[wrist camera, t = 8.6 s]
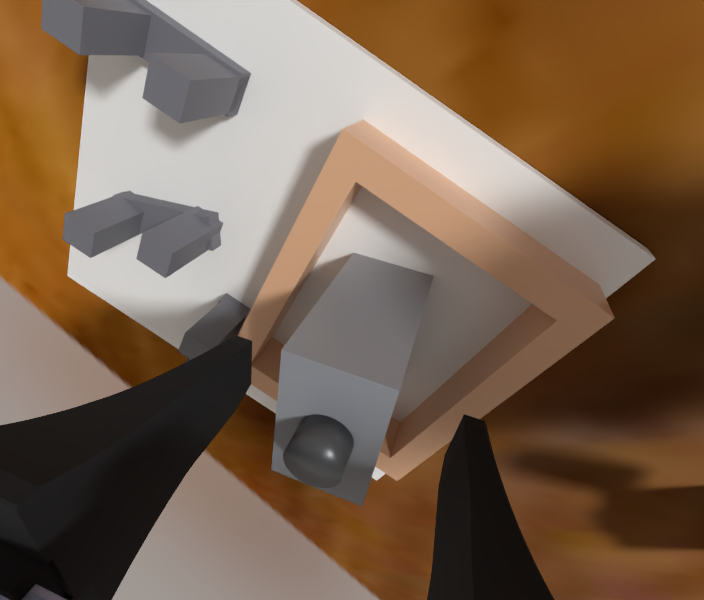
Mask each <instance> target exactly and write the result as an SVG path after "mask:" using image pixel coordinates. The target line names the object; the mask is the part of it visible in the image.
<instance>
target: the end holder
mask: <svg viewBox="0 0 704 600" xmlns="http://www.w3.org/2000/svg"><path fill="white" fill-rule="evenodd" d="M362 186H363V187H364V188H366V189H367V190H369V191H370V192H371V193H373V194H374V195H376V196H377V197H379V198H380V199H382V200H383V201H384V202H386V203H387V204H389V205H390V206H392V207H393V208H395V209H396V210H397V211H399V212H400V213H402V214H403V215H405V216H406V217H408V218H409V219H410V220H412V221H413V222H415V223H416V224H418V225H419V226H421V227H422V228H423V229H425V230H426V231H428V232H429V233H431V234H432V235H434V236H435V237H436V238H438V239H439V240H441V241H442V242H444V243H445V244H447V245H448V246H449V247H451V248H452V249H454V250H455V251H457V252H458V253H460V254H461V255H462V256H464V257H465V258H467V259H468V260H470V261H471V262H473V263H474V264H475V265H477V266H478V267H480V268H481V269H483V270H484V271H486V272H487V273H488V274H490V275H491V276H493V277H494V278H496V279H497V280H499V281H500V282H501V283H503V284H504V285H506V286H507V287H509V288H510V289H512V290H513V291H514V292H516V293H517V294H519V295H520V296H522V297H523V298H525V299H526V300H527V301H529V302H530V303H532V305H531V306H529V307H528V308H527V309H526V310H525V311H524V312H523V313H522V314H521V315H519V316H518V317H517V318H516V319H515V320H514V321H513V322H512V323H511V324H509V325H508V326H507V327H506V328H505V329H504V330H503V331H502V332H500V333H499V334H498V335H497V336H496V337H495V338H494V339H493V340H492V341H490V342H489V343H488V344H487V345H486V346H485V347H484V348H483V349H482V350H480V351H479V352H478V353H477V354H476V355H475V356H474V357H473V358H471V359H470V360H469V361H468V362H467V363H466V364H465V365H464V366H463V367H461V368H460V369H459V370H458V371H457V372H456V373H455V374H454V375H453V376H451V377H450V378H449V379H448V380H447V381H446V382H445V383H444V384H442V385H441V386H440V387H439V388H438V389H437V390H436V391H435V392H434V393H432V394H431V395H430V396H429V397H428V398H427V399H426V400H425V401H424V402H422V403H421V404H420V405H419V406H418V407H417V408H416V409H415V410H413V411H412V412H411V413H410V414H409V415H408V416H407V417H406V418H405V419H403V420H402V421H401V422H398V421H397V420H395V419H394V418H392V417H391V419H390V422H389V425H388V428H387V432H386V435H385V438H384V441H383V444H382V447H381V450H380V453H379V456H378V459H377V462H376V465H375V467H377V468H378V469H380V470H381V471H383V472H384V473H386V474H387V475H389V476H390V477H392V478H393V479H395V480H396V481H398V480H399V479H401V478H402V477H403V476H405V475H406V474H407V473H409V472H410V471H411V470H413V469H414V468H415V467H417V466H418V465H419V464H421V463H422V462H423V461H425V460H426V459H427V458H429V457H430V456H431V455H433V454H434V453H435V452H437V451H438V450H439V449H441V448H442V447H443V446H445V445H446V444H447V443H449V442H450V441H451V440H452V439H453V437H454V434H455V432H456V430H457V428H458V426H459V424H460V422H461V419H462V417H463V415H464V414H465V415H468V416H471V417H474V418H477V419H481V418H482V417H483V416H485V415H486V414H487V413H489V412H490V411H491V410H493V409H494V408H495V407H497V406H498V405H499V404H501V403H502V402H503V401H505V400H506V399H507V398H509V397H510V396H511V395H513V394H514V393H515V392H517V391H518V390H519V389H521V388H522V387H523V386H525V385H526V384H528V383H529V382H530V381H532V380H533V379H534V378H536V377H537V376H538V375H540V374H541V373H542V372H544V371H545V370H546V369H548V368H549V367H550V366H552V365H553V364H554V363H556V362H557V361H558V360H560V359H561V358H562V357H564V356H565V355H566V354H568V353H569V352H570V351H572V350H573V349H574V348H576V347H577V346H578V345H580V344H581V343H582V342H584V341H585V340H586V339H588V338H589V337H590V336H592V335H593V334H594V333H596V332H597V331H598V330H600V329H601V328H602V327H604V326H605V325H606V324H608V323H609V322H610V321H612V320H613V319H614V315H613V313H612V311H611V309H610V307H609V304H608V302H607V300H606V298H605V295H604V293H603V291H602V289H601V287H600V285H599V284H598V283H597V282H595V281H594V280H592V279H591V278H589V277H588V276H587V275H585V274H584V273H582V272H581V271H579V270H578V269H577V268H575V267H574V266H572V265H571V264H569V263H568V262H567V261H565V260H564V259H562V258H561V257H559V256H558V255H557V254H555V253H554V252H552V251H551V250H549V249H548V248H547V247H545V246H544V245H542V244H541V243H539V242H538V241H537V240H535V239H534V238H532V237H531V236H529V235H528V234H527V233H525V232H524V231H522V230H521V229H519V228H518V227H517V226H515V225H514V224H512V223H511V222H509V221H508V220H507V219H505V218H504V217H502V216H501V215H499V214H498V213H497V212H495V211H494V210H492V209H491V208H489V207H488V206H487V205H485V204H484V203H482V202H481V201H479V200H478V199H477V198H475V197H474V196H472V195H471V194H469V193H468V192H467V191H465V190H464V189H462V188H461V187H459V186H458V185H456V184H455V183H454V182H452V181H451V180H449V179H448V178H446V177H445V176H444V175H442V174H441V173H439V172H438V171H436V170H435V169H434V168H432V167H431V166H429V165H428V164H426V163H425V162H424V161H422V160H421V159H419V158H418V157H416V156H415V155H414V154H412V153H411V152H409V151H408V150H406V149H405V148H404V147H402V146H401V145H399V144H398V143H396V142H395V141H394V140H392V139H391V138H389V137H388V136H386V135H385V134H384V133H382V132H381V131H379V130H378V129H376V128H375V127H374V126H372V125H371V124H369V123H368V122H366V121H365V120H364V119H363V120H361V121H359V122H356V123H354V124H352V125H350V126H347V127H345V128H343V129H342V131H341V133H340V135H339V137H338V139H337V141H336V143H335V145H334V147H333V149H332V151H331V153H330V155H329V157H328V159H327V160H326V162H325V164H324V166H323V168H322V170H321V172H320V174H319V176H318V178H317V180H316V182H315V184H314V186H313V188H312V190H311V192H310V194H309V196H308V198H307V200H306V202H305V204H304V206H303V208H302V210H301V212H300V214H299V216H298V218H297V220H296V221H295V223H294V225H293V227H292V229H291V231H290V233H289V235H288V237H287V239H286V241H285V243H284V245H283V247H282V249H281V251H280V253H279V255H278V257H277V259H276V261H275V263H274V265H273V267H272V269H271V271H270V273H269V275H268V277H267V279H266V281H265V282H264V284H263V286H262V288H261V290H260V292H259V294H258V296H257V298H256V300H255V302H254V304H253V306H252V308H251V310H250V312H249V314H248V316H247V318H246V320H245V322H244V324H243V326H242V328H241V330H240V332H239V334H238V336H240V337H243V338H245V339H248V340H251V341H252V373H251V385H253V386H254V387H256V388H258V389H259V390H261V391H262V392H264V393H265V394H267V395H268V396H270V397H271V398H273V399H274V400H276V401H277V397H278V385H279V373H280V361H281V350H282V348H283V347H284V346H285V345H283V344H282V343H280V342H279V341H277V340H276V339H274V338H273V335H274V334H275V332H276V330H277V329H278V327H279V325H280V324H281V322H282V320H283V319H284V317H285V315H286V313H287V312H288V310H289V308H290V307H291V305H292V303H293V302H294V300H295V298H296V297H297V295H298V293H299V292H300V290H301V288H302V286H303V285H304V283H305V281H306V280H307V278H308V276H309V275H310V273H311V271H312V270H313V268H314V266H315V264H316V263H317V261H318V259H319V258H320V256H321V254H322V253H323V251H324V249H325V248H326V246H327V244H328V243H329V241H330V239H331V237H332V236H333V234H334V232H335V231H336V229H337V227H338V226H339V224H340V222H341V221H342V219H343V217H344V215H345V214H346V212H347V210H348V209H349V207H350V205H351V204H352V202H353V200H354V199H355V197H356V195H357V194H358V192H359V190H360V188H361V187H362Z"/></svg>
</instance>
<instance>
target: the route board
mask: <svg viewBox="0 0 704 600" xmlns="http://www.w3.org/2000/svg"><path fill="white" fill-rule="evenodd" d="M42 30H44V31H45V32H47V33H48V34H50V35H51V36H53V37H54V38H56V39H57V40H58V41H60V42H61V43H63V44H64V45H66V46H67V47H69V48H70V49H72V50H73V51H74V52H76V53H77V54H79V55H89V58H88V69H87V79H86V89H85V100H84V110H83V120H82V131H81V141H80V151H79V162H78V172H77V182H76V193H75V203H74V210H73V211H71V212H68V213H65V217H64V229H63V240H64V241H66V242H67V243H69V244H70V255H69V265H68V275H67V276H68V277H70V278H71V279H73V280H74V281H76V282H77V283H79V284H80V285H82V286H84V287H85V288H87V289H88V290H90V291H91V292H93V293H94V294H96V295H97V296H99V297H100V298H102V299H103V300H105V301H106V302H108V303H109V304H111V305H112V306H114V307H115V308H117V309H118V310H120V311H121V312H123V313H124V314H126V315H127V316H129V317H130V318H132V319H133V320H135V321H136V322H138V323H139V324H141V325H142V326H144V327H145V328H147V329H149V330H150V331H152V332H153V333H155V334H156V335H158V336H159V337H161V338H162V339H164V340H165V341H167V342H168V343H170V344H171V345H173V346H174V347H176V348H177V349H179V350H178V352H180V353H181V354H183V355H184V356H186V357H187V358H189V359H188V360H187V361H186V362H188V361H189V360H191V359H193V358H195V357H197V356H199V355H201V354H203V353H204V352H206V351H208V350H210V349H212V348H214V347H215V346H217V345H219V344H221V343H223V342H224V341H226V340H228V339H230V338H232V337H234V336H236V335H237V336H238V334H239V332H240V330H241V328H242V326H243V324H244V322H245V320H246V318H247V316H248V314H249V312H250V310H251V308H252V306H253V304H254V302H255V300H256V298H257V296H258V294H259V292H260V290H261V288H262V286H263V284H264V282H265V281H266V279H267V277H268V275H269V273H270V271H271V269H272V267H273V265H274V263H275V261H276V259H277V257H278V255H279V253H280V251H281V249H282V247H283V245H284V243H285V241H286V239H287V237H288V235H289V233H290V231H291V229H292V227H293V225H294V223H295V221H296V220H297V218H298V216H299V214H300V212H301V210H302V208H303V206H304V204H305V202H306V200H307V198H308V196H309V194H310V192H311V190H312V188H313V186H314V184H315V182H316V180H317V178H318V176H319V174H320V172H321V170H322V168H323V166H324V164H325V162H326V160H327V159H328V157H329V155H330V153H331V151H332V149H333V147H334V145H335V143H336V141H337V139H338V137H339V135H340V133H341V131H342V129H343V128H345V127H347V126H350V125H352V124H354V123H356V122H359V121H361V120H363V119H364V120H365V121H366V122H368V123H369V124H371V125H372V126H374V127H375V128H376V129H378V130H379V131H381V132H382V133H384V134H385V135H386V136H388V137H389V138H391V139H392V140H394V141H395V142H396V143H398V144H399V145H401V146H402V147H404V148H405V149H406V150H408V151H409V152H411V153H412V154H414V155H415V156H416V157H418V158H419V159H421V160H422V161H424V162H425V163H426V164H428V165H429V166H431V167H432V168H434V169H435V170H436V171H438V172H439V173H441V174H442V175H444V176H445V177H446V178H448V179H449V180H451V181H452V182H454V183H455V184H456V185H458V186H459V187H461V188H462V189H464V190H465V191H467V192H468V193H469V194H471V195H472V196H474V197H475V198H477V199H478V200H479V201H481V202H482V203H484V204H485V205H487V206H488V207H489V208H491V209H492V210H494V211H495V212H497V213H498V214H499V215H501V216H502V217H504V218H505V219H507V220H508V221H509V222H511V223H512V224H514V225H515V226H517V227H518V228H519V229H521V230H522V231H524V232H525V233H527V234H528V235H529V236H531V237H532V238H534V239H535V240H537V241H538V242H539V243H541V244H542V245H544V246H545V247H547V248H548V249H549V250H551V251H552V252H554V253H555V254H557V255H558V256H559V257H561V258H562V259H564V260H565V261H567V262H568V263H569V264H571V265H572V266H574V267H575V268H577V269H578V270H579V271H581V272H582V273H584V274H585V275H587V276H588V277H589V278H591V279H592V280H594V281H595V282H597V283H598V284H599V285H600V287H601V289H602V291H603V293H604V295H605V298H607V297H609V296H610V295H611V294H612V293H614V292H615V291H616V290H617V289H619V288H620V287H621V286H622V285H624V284H625V283H626V282H627V281H629V280H630V279H631V278H633V277H634V276H635V275H636V274H638V273H639V272H640V271H641V270H643V269H644V268H645V267H646V266H648V265H649V264H650V263H651V262H653V261H654V260H655V257H654V256H653V255H652V254H651V252H650V251H649V250H648V249H647V248H646V247H645V246H643V245H642V244H640V243H639V242H638V241H636V240H635V239H633V238H632V237H631V236H629V235H628V234H626V233H625V232H623V231H622V230H621V229H619V228H618V227H616V226H615V225H614V224H612V223H611V222H609V221H608V220H606V219H605V218H604V217H602V216H601V215H599V214H598V213H597V212H595V211H594V210H592V209H591V208H590V207H588V206H587V205H585V204H584V203H582V202H581V201H580V200H578V199H577V198H575V197H574V196H573V195H571V194H570V193H568V192H567V191H565V190H564V189H563V188H561V187H560V186H558V185H557V184H556V183H554V182H553V181H551V180H550V179H548V178H547V177H546V176H544V175H543V174H541V173H540V172H539V171H537V170H536V169H534V168H533V167H532V166H530V165H529V164H527V163H526V162H524V161H523V160H522V159H520V158H519V157H517V156H516V155H515V154H513V153H512V152H510V151H509V150H507V149H506V148H505V147H503V146H502V145H500V144H499V143H498V142H496V141H495V140H493V139H492V138H491V137H489V136H488V135H486V134H485V133H483V132H482V131H481V130H479V129H478V128H476V127H475V126H474V125H472V124H471V123H469V122H468V121H466V120H465V119H464V118H462V117H461V116H459V115H458V114H457V113H455V112H454V111H452V110H451V109H450V108H448V107H447V106H445V105H444V104H442V103H441V102H440V101H438V100H437V99H435V98H434V97H433V96H431V95H430V94H428V93H427V92H425V91H424V90H423V89H421V88H420V87H418V86H417V85H416V84H414V83H413V82H411V81H410V80H409V79H407V78H406V77H404V76H403V75H401V74H400V73H399V72H397V71H396V70H394V69H393V68H392V67H390V66H389V65H387V64H386V63H384V62H383V61H382V60H380V59H379V58H377V57H376V56H375V55H373V54H372V53H370V52H369V51H368V50H366V49H365V48H363V47H362V46H360V45H359V44H358V43H356V42H355V41H353V40H352V39H351V38H349V37H348V36H346V35H345V34H343V33H342V32H341V31H339V30H338V29H336V28H335V27H334V26H332V25H331V24H329V23H328V22H326V21H325V20H324V19H322V18H321V17H319V16H318V15H317V14H315V13H314V12H312V11H311V10H310V9H308V8H307V7H305V6H304V5H302V4H301V3H300V2H298V1H297V0H42ZM353 253H357V254H361V255H364V256H368V257H371V258H374V259H378V260H381V261H385V262H388V263H391V264H395V265H398V266H402V267H405V268H409V269H412V270H415V271H419V272H422V273H426V274H429V275H432V276H434V277H433V280H432V284H431V287H430V290H429V294H428V297H427V301H426V304H425V307H424V311H423V314H422V317H421V321H420V324H419V328H418V331H417V334H416V338H415V341H414V344H413V348H412V351H411V354H410V358H409V361H408V365H407V368H406V371H405V375H404V378H403V381H402V385H401V388H400V392H399V395H398V398H397V401H396V404H395V407H394V410H393V413H392V416H391V417H392V418H394V419H395V420H397V421H398V422H401V421H402V420H403V419H405V418H406V417H407V416H408V415H409V414H410V413H411V412H412V411H413V410H415V409H416V408H417V407H418V406H419V405H420V404H421V403H422V402H424V401H425V400H426V399H427V398H428V397H429V396H430V395H431V394H432V393H434V392H435V391H436V390H437V389H438V388H439V387H440V386H441V385H442V384H444V383H445V382H446V381H447V380H448V379H449V378H450V377H451V376H453V375H454V374H455V373H456V372H457V371H458V370H459V369H460V368H461V367H463V366H464V365H465V364H466V363H467V362H468V361H469V360H470V359H471V358H473V357H474V356H475V355H476V354H477V353H478V352H479V351H480V350H482V349H483V348H484V347H485V346H486V345H487V344H488V343H489V342H490V341H492V340H493V339H494V338H495V337H496V336H497V335H498V334H499V333H500V332H502V331H503V330H504V329H505V328H506V327H507V326H508V325H509V324H511V323H512V322H513V321H514V320H515V319H516V318H517V317H518V316H519V315H521V314H522V313H523V312H524V311H525V310H526V309H527V308H528V307H529V306H531V305H532V303H530V302H529V301H527V300H526V299H525V298H523V297H522V296H520V295H519V294H517V293H516V292H514V291H513V290H512V289H510V288H509V287H507V286H506V285H504V284H503V283H501V282H500V281H499V280H497V279H496V278H494V277H493V276H491V275H490V274H488V273H487V272H486V271H484V270H483V269H481V268H480V267H478V266H477V265H475V264H474V263H473V262H471V261H470V260H468V259H467V258H465V257H464V256H462V255H461V254H460V253H458V252H457V251H455V250H454V249H452V248H451V247H449V246H448V245H447V244H445V243H444V242H442V241H441V240H439V239H438V238H436V237H435V236H434V235H432V234H431V233H429V232H428V231H426V230H425V229H423V228H422V227H421V226H419V225H418V224H416V223H415V222H413V221H412V220H410V219H409V218H408V217H406V216H405V215H403V214H402V213H400V212H399V211H397V210H396V209H395V208H393V207H392V206H390V205H389V204H387V203H386V202H384V201H383V200H382V199H380V198H379V197H377V196H376V195H374V194H373V193H371V192H370V191H369V190H367V189H366V188H364V187H363V186H362V187H361V188H360V190H359V192H358V194H357V195H356V197H355V199H354V200H353V202H352V204H351V205H350V207H349V209H348V210H347V212H346V214H345V215H344V217H343V219H342V221H341V222H340V224H339V226H338V227H337V229H336V231H335V232H334V234H333V236H332V237H331V239H330V241H329V243H328V244H327V246H326V248H325V249H324V251H323V253H322V254H321V256H320V258H319V259H318V261H317V263H316V264H315V266H314V268H313V270H312V271H311V273H310V275H309V276H308V278H307V280H306V281H305V283H304V285H303V286H302V288H301V290H300V292H299V293H298V295H297V297H296V298H295V300H294V302H293V303H292V305H291V307H290V308H289V310H288V312H287V313H286V315H285V317H284V319H283V320H282V322H281V324H280V325H279V327H278V329H277V330H276V332H275V334H274V335H273V338H274V339H276V340H277V341H279V342H280V343H282V344H283V345H285V344H286V343H287V342H288V340H289V339H290V338H291V336H292V335H293V334H294V332H295V331H296V330H297V328H298V327H299V326H300V324H301V323H302V322H303V320H304V319H305V317H306V316H307V315H308V313H309V312H310V311H311V309H312V308H313V307H314V305H315V304H316V303H317V301H318V300H319V299H320V297H321V296H322V295H323V293H324V292H325V291H326V289H327V288H328V287H329V285H330V284H331V283H332V281H333V280H334V279H335V277H336V276H337V275H338V273H339V272H340V271H341V269H342V268H343V267H344V265H345V264H346V263H347V261H348V260H349V259H350V257H351V256H352V255H353ZM186 362H185V363H186ZM246 394H247V395H248V396H250V397H251V398H253V399H254V400H256V401H257V402H259V403H260V404H262V405H263V406H265V407H266V408H268V409H269V410H271V411H272V412H274V413H276V409H277V401H276V400H274V399H273V398H271V397H270V396H268V395H267V394H265V393H264V392H262V391H261V390H259V389H258V388H256V387H254V386H253V385H250V387H249V389H248V390H247V392H246ZM384 474H385V473H384V472H383V471H381V470H380V469H378V468H377V467H375V468H374V472H373V475H372V478H374V479H375V480H378V479H379V478H380V477H382V476H383V475H384Z"/></svg>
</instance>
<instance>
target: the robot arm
mask: <svg viewBox="0 0 704 600" xmlns="http://www.w3.org/2000/svg"><path fill="white" fill-rule="evenodd" d="M251 373H252V341H251V340H248V339H245V338H243V337H240V336H237V335H236V336H234V337H232V338H230V339H228V340H226V341H224V342H223V343H221V344H219V345H217V346H215V347H214V348H212V349H210V350H208V351H206V352H204V353H203V354H201V355H199V356H197V357H195V358H193V359H191V360H189V361H188V362H186V363H184V364H182V365H180V366H178V367H176V368H174V369H172V370H170V371H168V372H166V373H164V374H162V375H159V376H157V377H155V378H153V379H151V380H149V381H147V382H144V383H142V384H140V385H137V386H135V387H132V388H130V389H127V390H125V391H122V392H120V393H117V394H114V395H112V396H109V397H106V398H103V399H100V400H96V401H93V402H90V403H87V404H84V405H81V406H78V407H75V408H71V409H68V410H65V411H61V412H57V413H53V414H50V415H46V416H42V417H38V418H34V419H29V420H25V421H20V422H16V423H11V424H6V425H1V426H0V600H111V599H112V598H113V596H114V594H115V592H116V591H117V589H118V587H119V585H120V583H121V581H122V580H123V578H124V576H125V574H126V572H127V570H128V569H129V567H130V565H131V563H132V561H133V560H134V558H135V556H136V555H137V553H138V551H139V549H140V548H141V546H142V544H143V543H144V541H145V539H146V537H147V536H148V534H149V532H150V531H151V529H152V527H153V525H154V524H155V522H156V521H157V519H158V517H159V516H160V514H161V512H162V511H163V509H164V508H165V506H166V504H167V503H168V501H169V500H170V498H171V497H172V495H173V493H174V492H175V490H176V489H177V487H178V486H179V484H180V482H181V481H182V479H183V478H184V476H185V475H186V473H187V472H188V471H189V469H190V468H191V467H192V465H193V464H194V462H195V461H196V460H197V459H198V457H199V456H200V455H201V453H202V452H203V451H204V450H205V448H206V447H207V446H208V445H209V443H210V442H211V441H212V440H213V438H214V437H215V436H216V435H217V433H218V432H219V431H220V429H221V428H222V427H223V426H224V424H225V423H226V422H227V420H228V419H229V418H230V417H231V415H232V414H233V413H234V411H235V410H236V409H237V407H238V405H239V404H240V402H241V401H242V399H243V397H244V396H245V394H246V392H247V390H248V389H249V387H250V385H251ZM427 600H554V598H553V596H552V595H551V593H550V591H549V589H548V587H547V585H546V583H545V582H544V580H543V578H542V576H541V574H540V572H539V570H538V568H537V566H536V564H535V562H534V559H533V557H532V555H531V553H530V551H529V549H528V547H527V544H526V542H525V540H524V538H523V535H522V533H521V531H520V528H519V526H518V524H517V521H516V518H515V516H514V513H513V511H512V508H511V506H510V503H509V500H508V498H507V495H506V492H505V489H504V486H503V483H502V480H501V477H500V474H499V471H498V468H497V465H496V461H495V458H494V454H493V451H492V447H491V443H490V439H489V435H488V431H487V426H486V424H485V422H484V421H483V420H480V419H477V418H474V417H471V416H468V415H465V414H464V415H463V417H462V419H461V422H460V424H459V426H458V428H457V430H456V432H455V434H454V437H453V439H452V441H451V443H450V445H449V447H448V449H447V451H446V454H445V457H444V462H443V467H442V472H441V477H440V483H439V490H438V502H437V514H436V527H435V539H434V552H433V564H432V572H431V580H430V586H429V592H428V598H427Z"/></svg>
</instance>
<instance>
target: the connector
mask: <svg viewBox="0 0 704 600" xmlns="http://www.w3.org/2000/svg"><path fill="white" fill-rule="evenodd" d="M433 277H434V276H432V275H429V274H426V273H422V272H419V271H415V270H412V269H409V268H405V267H402V266H398V265H395V264H391V263H388V262H385V261H381V260H378V259H374V258H371V257H368V256H364V255H361V254H357V253H353V255H352V256H351V257H350V259H349V260H348V261H347V263H346V264H345V265H344V267H343V268H342V269H341V271H340V272H339V273H338V275H337V276H336V277H335V279H334V280H333V281H332V283H331V284H330V285H329V287H328V288H327V289H326V291H325V292H324V293H323V295H322V296H321V297H320V299H319V300H318V301H317V303H316V304H315V305H314V307H313V308H312V309H311V311H310V312H309V313H308V315H307V316H306V317H305V319H304V320H303V322H302V323H301V324H300V326H299V327H298V328H297V330H296V331H295V332H294V334H293V335H292V336H291V338H290V339H289V340H288V342H287V343H286V344H285V346H284V347H283V348H282V350H281V361H280V373H279V385H278V397H277V409H276V421H275V433H274V445H273V457H272V469H271V470H273V471H276V472H278V473H281V474H283V475H285V476H288V477H290V478H293V479H295V480H298V481H300V482H303V483H305V484H308V485H310V486H313V487H315V488H318V489H320V490H323V491H325V492H328V493H330V494H333V495H335V496H338V497H340V498H343V499H345V500H347V501H350V502H352V503H355V504H357V505H360V506H362V505H363V502H364V499H365V496H366V493H367V490H368V487H369V484H370V481H371V478H372V475H373V472H374V468H375V465H376V462H377V459H378V456H379V453H380V450H381V447H382V444H383V441H384V438H385V435H386V432H387V428H388V425H389V422H390V419H391V416H392V413H393V410H394V407H395V404H396V401H397V398H398V395H399V392H400V388H401V385H402V381H403V378H404V375H405V371H406V368H407V365H408V361H409V358H410V354H411V351H412V348H413V344H414V341H415V338H416V334H417V331H418V328H419V324H420V321H421V317H422V314H423V311H424V307H425V304H426V301H427V297H428V294H429V290H430V287H431V284H432V280H433Z"/></svg>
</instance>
